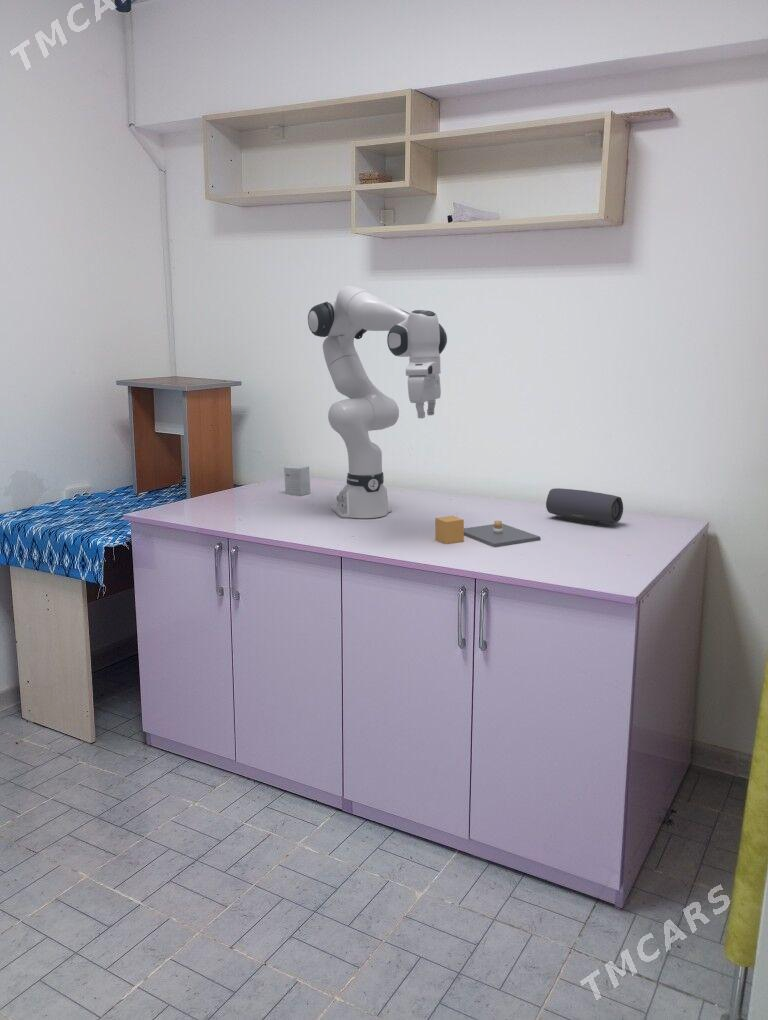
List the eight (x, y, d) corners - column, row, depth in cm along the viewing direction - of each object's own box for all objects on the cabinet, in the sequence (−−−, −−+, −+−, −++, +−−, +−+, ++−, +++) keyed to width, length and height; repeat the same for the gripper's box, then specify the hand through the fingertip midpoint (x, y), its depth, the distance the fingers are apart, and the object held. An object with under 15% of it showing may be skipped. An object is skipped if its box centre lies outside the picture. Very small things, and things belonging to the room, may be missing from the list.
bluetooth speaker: (623, 524, 260) (625, 492, 258) (609, 529, 253) (611, 497, 251) (559, 514, 275) (560, 484, 273) (544, 519, 268) (545, 489, 266)
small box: (310, 493, 317) (309, 466, 315) (301, 496, 312) (300, 468, 310) (294, 491, 321) (293, 464, 319) (285, 494, 316) (283, 466, 314)
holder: (457, 532, 253) (457, 518, 252) (501, 526, 260) (501, 512, 259) (494, 547, 235) (494, 531, 234) (540, 540, 242) (540, 525, 241)
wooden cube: (435, 539, 245) (435, 518, 243) (452, 536, 247) (452, 515, 246) (445, 544, 240) (445, 522, 238) (463, 541, 242) (463, 519, 241)
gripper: (424, 367, 248) (426, 413, 251) (403, 369, 229) (404, 419, 232) (445, 366, 246) (446, 413, 249) (425, 369, 227) (426, 419, 230)
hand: (426, 416), depth 240 cm, fingers open, 8 cm apart
